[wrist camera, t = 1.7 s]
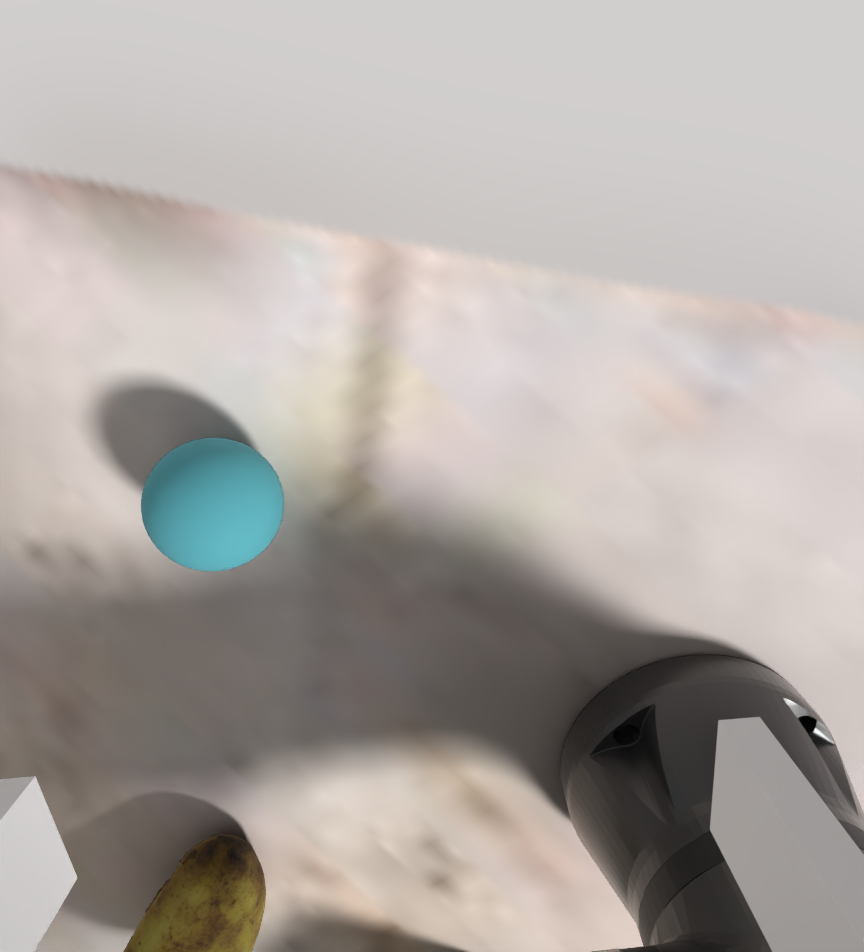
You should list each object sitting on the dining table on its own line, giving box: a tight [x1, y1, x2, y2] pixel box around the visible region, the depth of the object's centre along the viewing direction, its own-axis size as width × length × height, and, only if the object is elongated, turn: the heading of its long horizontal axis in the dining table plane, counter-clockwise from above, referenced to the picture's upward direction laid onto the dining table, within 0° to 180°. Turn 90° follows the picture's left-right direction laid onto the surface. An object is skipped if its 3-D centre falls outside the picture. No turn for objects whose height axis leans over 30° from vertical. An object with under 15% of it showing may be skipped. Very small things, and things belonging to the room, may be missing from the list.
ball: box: [141, 438, 284, 571], centre depth 26 cm, size 6×6×6 cm
